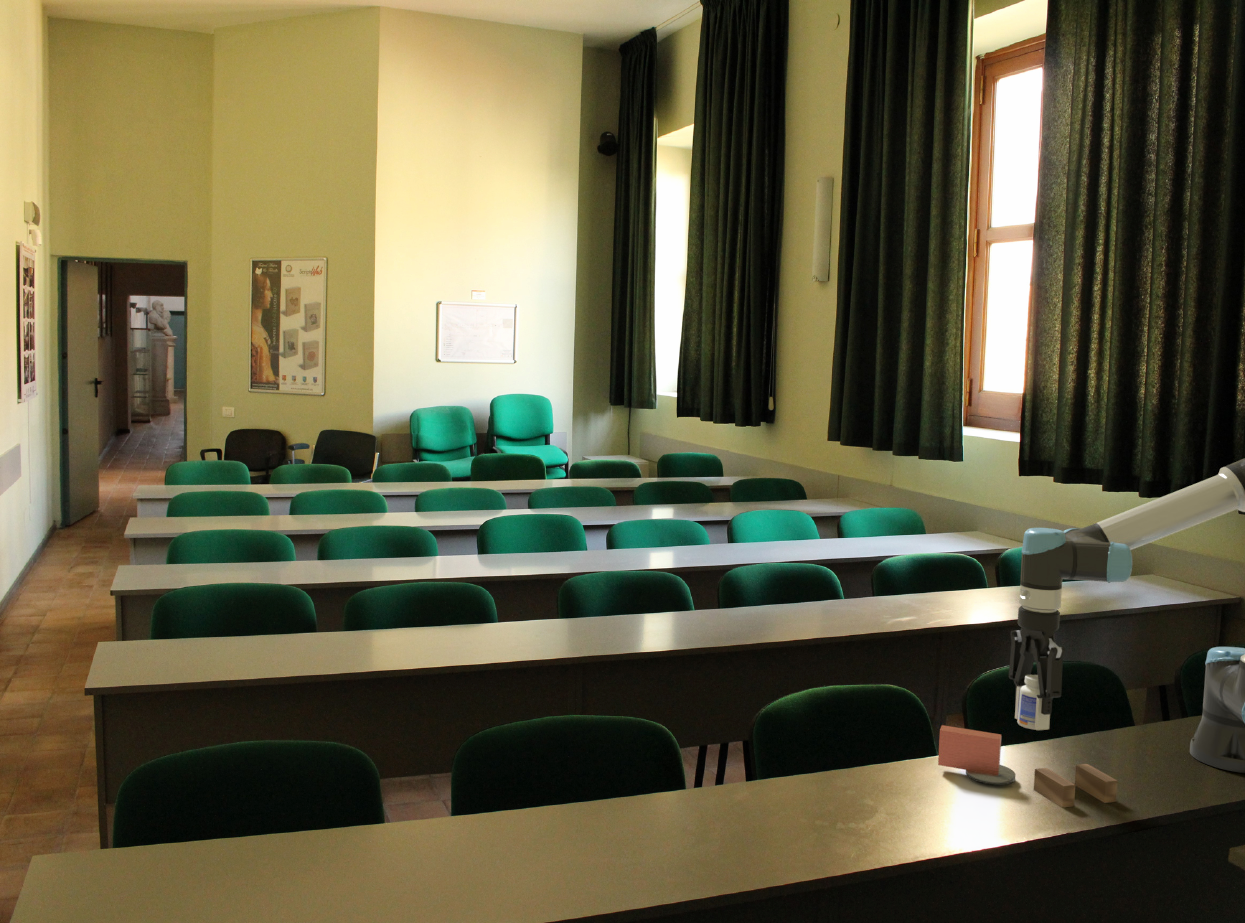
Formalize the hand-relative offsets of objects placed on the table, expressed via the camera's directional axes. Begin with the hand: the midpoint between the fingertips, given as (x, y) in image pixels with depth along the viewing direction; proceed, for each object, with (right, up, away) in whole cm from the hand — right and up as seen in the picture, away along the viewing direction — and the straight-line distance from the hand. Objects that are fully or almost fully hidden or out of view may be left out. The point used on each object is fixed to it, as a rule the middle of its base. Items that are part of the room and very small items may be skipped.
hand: (1031, 723), depth 202 cm
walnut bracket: (+3, -10, -12) cm, 16 cm away
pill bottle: (0, -1, 0) cm, 1 cm away
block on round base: (-12, -9, -4) cm, 15 cm away
